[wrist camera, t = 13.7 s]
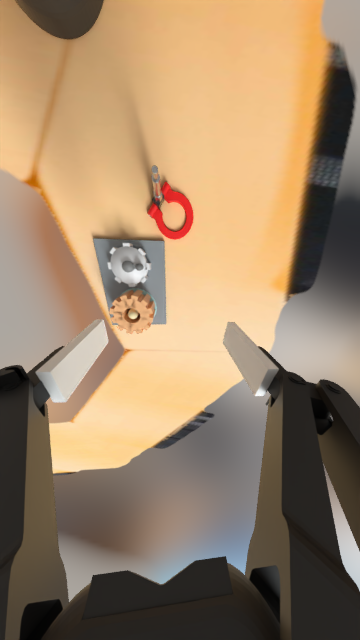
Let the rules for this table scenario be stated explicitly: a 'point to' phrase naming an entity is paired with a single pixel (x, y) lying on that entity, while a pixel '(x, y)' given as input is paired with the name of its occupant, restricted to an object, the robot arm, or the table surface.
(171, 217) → the table surface
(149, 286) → the gear board
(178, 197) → the tow hook
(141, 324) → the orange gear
